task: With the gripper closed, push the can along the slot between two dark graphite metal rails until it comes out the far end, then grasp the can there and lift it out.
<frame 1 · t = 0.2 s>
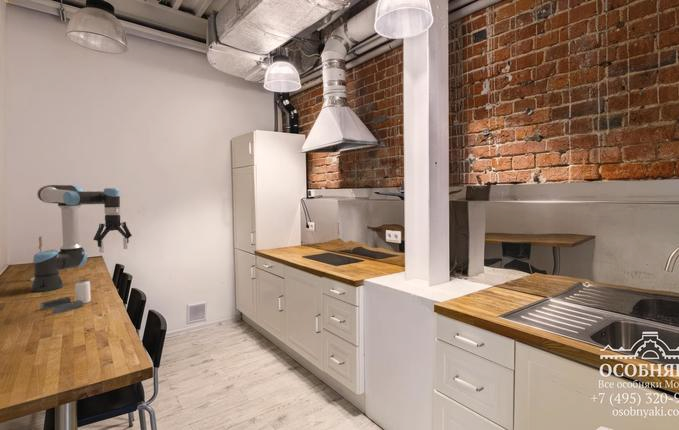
hand: (113, 250, 196), 26 cm above the table, tool pointing down, fingers open, 13 cm apart
slot guide: (61, 307, 175), on the table
candlestick: (42, 279, 230), on the table
can: (83, 302, 183), on the table
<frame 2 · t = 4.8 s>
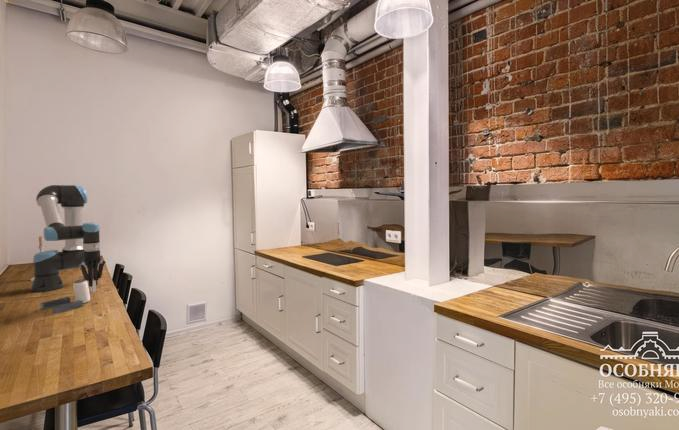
hand: (93, 291, 188), 5 cm above the table, tool pointing down, fingers closed
can: (83, 301, 183), on the table, touching gripper, hand
everything else where it was.
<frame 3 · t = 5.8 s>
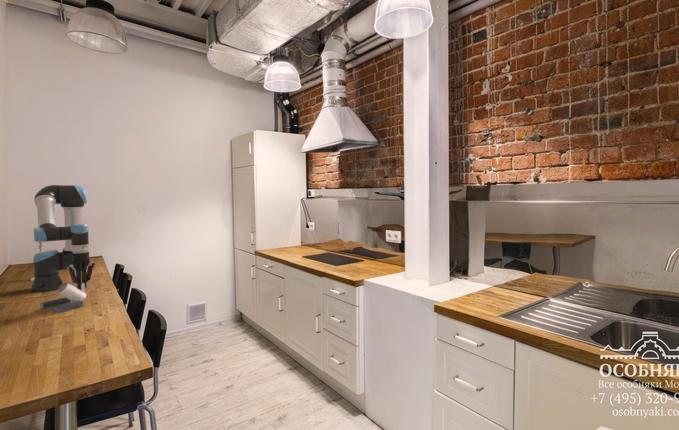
hand: (82, 294, 183), 4 cm above the table, tool pointing down, fingers closed
can: (81, 298, 183), point 2 cm above the table
everything else where it was.
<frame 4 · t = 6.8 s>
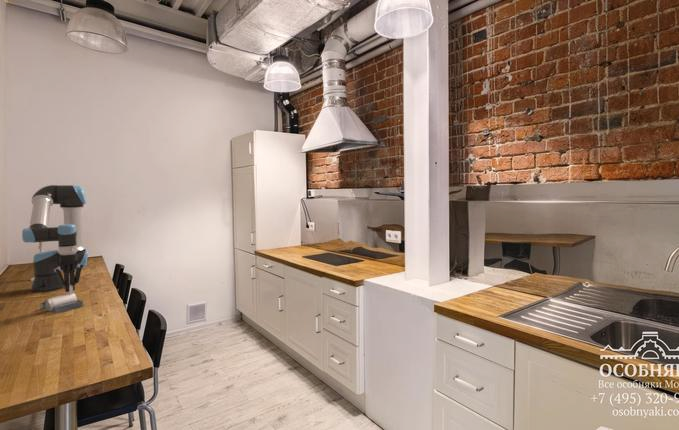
hand: (70, 297, 178), 4 cm above the table, tool pointing down, fingers closed
can: (74, 298, 180), point 3 cm above the table, touching gripper
everything else where it was.
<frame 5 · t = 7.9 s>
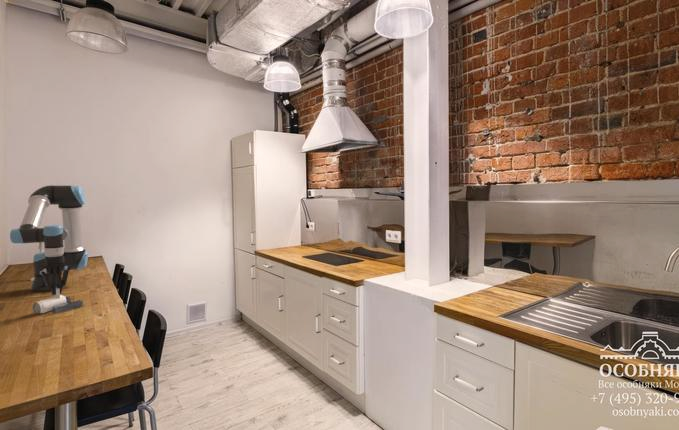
hand: (57, 300, 172), 5 cm above the table, tool pointing down, fingers closed
can: (63, 300, 176), point 3 cm above the table, touching gripper
everything else where it was.
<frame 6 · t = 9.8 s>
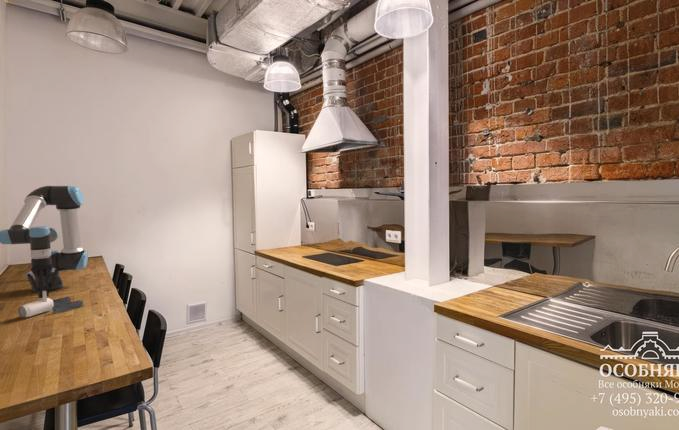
hand: (44, 303, 167), 4 cm above the table, tool pointing down, fingers closed
can: (50, 303, 171), point 3 cm above the table, touching gripper
everything else where it was.
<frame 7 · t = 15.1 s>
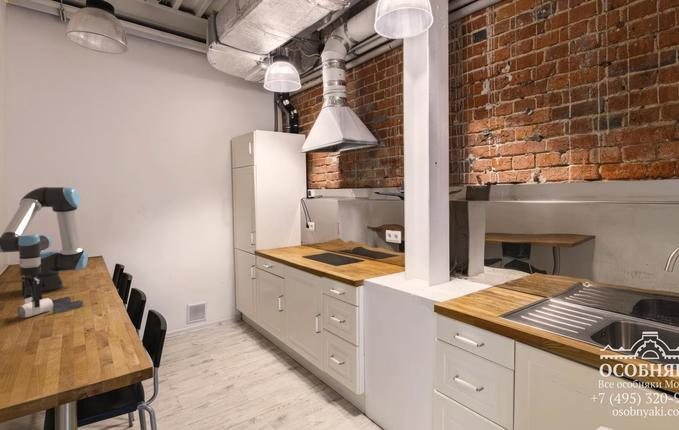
hand: (32, 312, 164), 1 cm above the table, tool pointing down, fingers closed on can, 7 cm apart
can: (49, 303, 171), point 3 cm above the table, touching gripper
everything else where it was.
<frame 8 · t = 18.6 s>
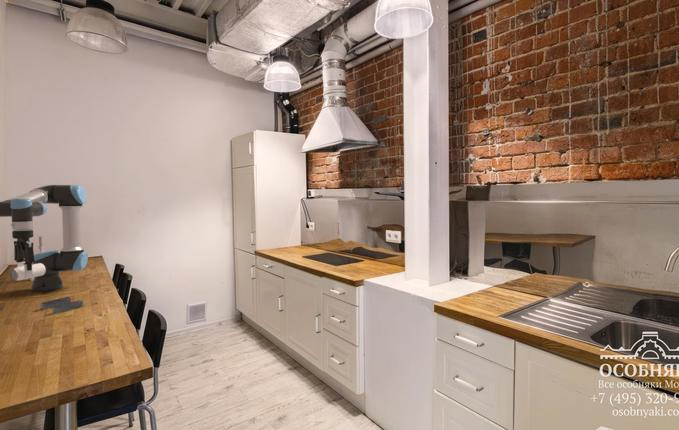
hand: (25, 275, 165), 19 cm above the table, tool pointing down, fingers closed on can, 7 cm apart
can: (42, 269, 172), point 21 cm above the table, touching gripper
everything else where it was.
at the end: the gripper is holding can; can inside the target area (8.5 cm from its centre), point 20.7 cm above the table; can moved 26.3 cm from its start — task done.
